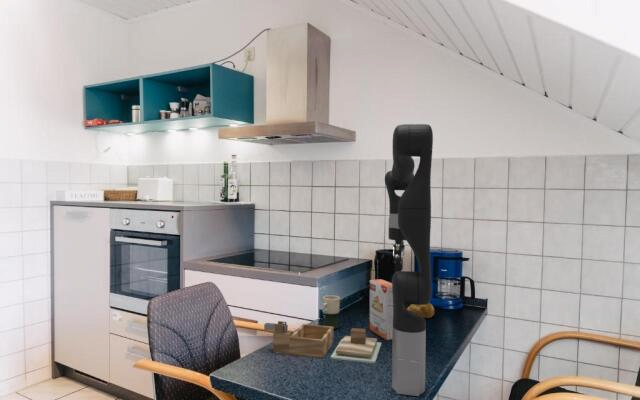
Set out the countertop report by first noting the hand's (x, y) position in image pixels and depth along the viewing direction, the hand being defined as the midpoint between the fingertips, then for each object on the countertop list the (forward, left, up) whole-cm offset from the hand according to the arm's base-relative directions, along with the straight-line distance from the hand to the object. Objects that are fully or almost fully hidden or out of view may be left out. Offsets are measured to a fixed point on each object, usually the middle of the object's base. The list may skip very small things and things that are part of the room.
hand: (398, 271), depth 149 cm
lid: (-5, +14, -28) cm, 31 cm away
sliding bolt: (-13, +42, -21) cm, 48 cm away
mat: (-5, +14, -28) cm, 32 cm away
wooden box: (-7, +33, -28) cm, 44 cm away
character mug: (+18, +29, -28) cm, 44 cm away
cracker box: (+16, +7, -28) cm, 33 cm away
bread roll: (+49, -7, -28) cm, 57 cm away
